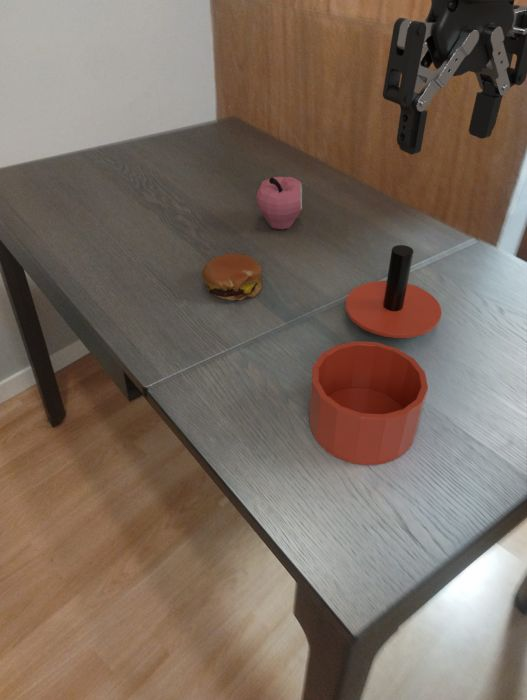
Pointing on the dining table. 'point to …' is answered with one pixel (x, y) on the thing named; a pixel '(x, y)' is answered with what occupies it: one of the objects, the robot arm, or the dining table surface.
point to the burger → (232, 276)
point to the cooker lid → (394, 302)
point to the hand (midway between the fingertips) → (445, 143)
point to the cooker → (366, 402)
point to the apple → (280, 201)
